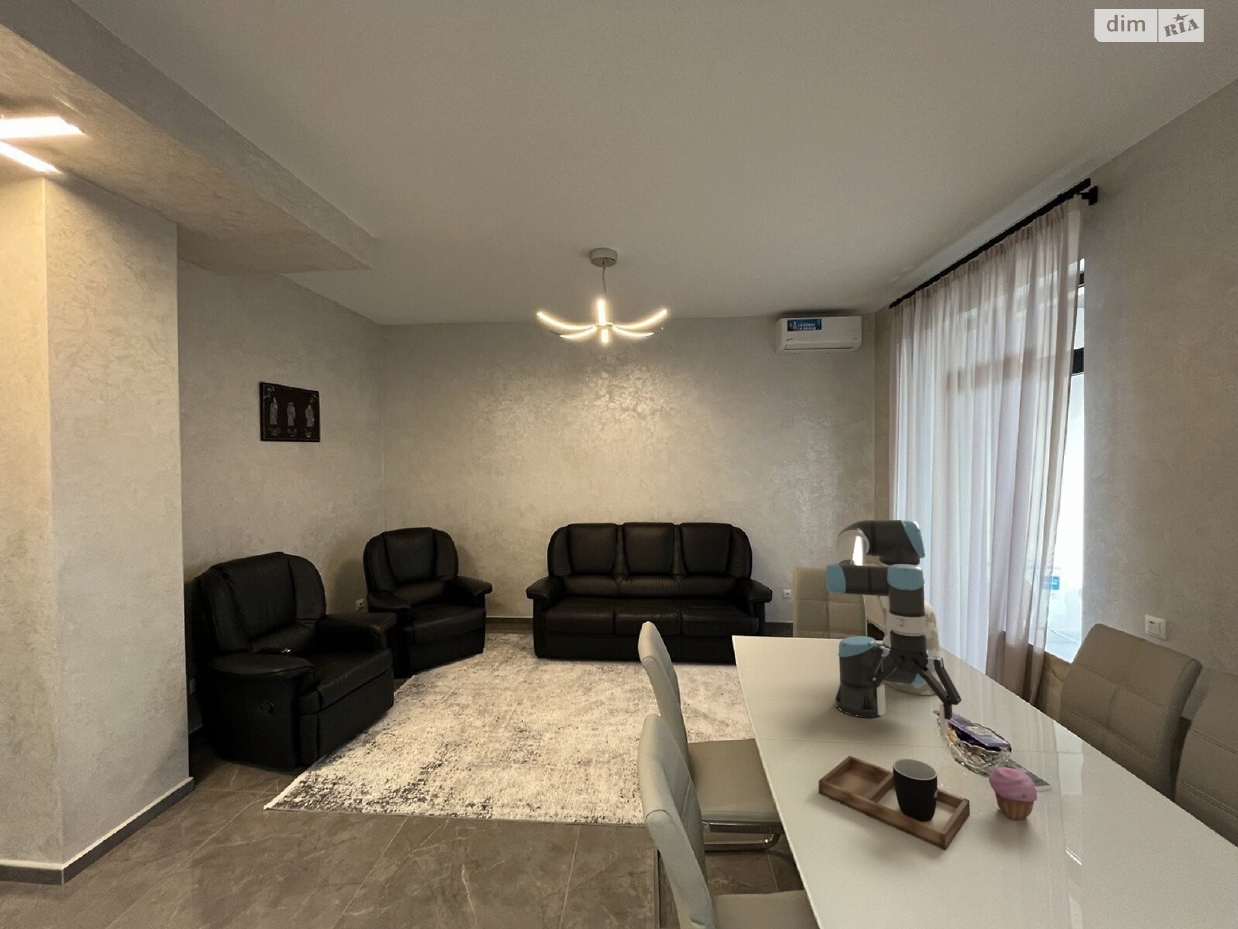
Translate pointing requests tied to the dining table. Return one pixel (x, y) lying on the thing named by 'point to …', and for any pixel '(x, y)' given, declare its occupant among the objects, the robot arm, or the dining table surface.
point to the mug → (915, 788)
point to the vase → (931, 647)
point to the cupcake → (1013, 792)
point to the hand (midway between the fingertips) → (912, 722)
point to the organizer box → (892, 801)
